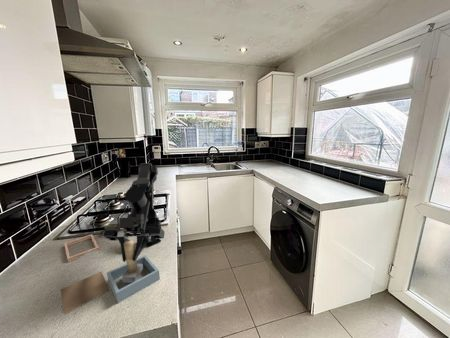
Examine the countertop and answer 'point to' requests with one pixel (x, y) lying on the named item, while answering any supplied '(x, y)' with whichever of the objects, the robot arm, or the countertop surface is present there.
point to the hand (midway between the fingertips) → (129, 261)
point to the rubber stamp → (131, 264)
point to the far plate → (83, 291)
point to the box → (134, 286)
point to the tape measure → (112, 226)
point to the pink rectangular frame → (77, 242)
